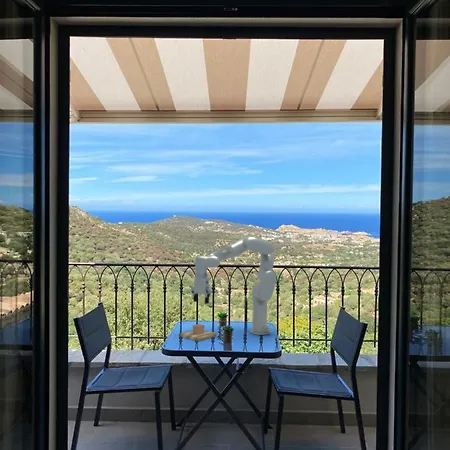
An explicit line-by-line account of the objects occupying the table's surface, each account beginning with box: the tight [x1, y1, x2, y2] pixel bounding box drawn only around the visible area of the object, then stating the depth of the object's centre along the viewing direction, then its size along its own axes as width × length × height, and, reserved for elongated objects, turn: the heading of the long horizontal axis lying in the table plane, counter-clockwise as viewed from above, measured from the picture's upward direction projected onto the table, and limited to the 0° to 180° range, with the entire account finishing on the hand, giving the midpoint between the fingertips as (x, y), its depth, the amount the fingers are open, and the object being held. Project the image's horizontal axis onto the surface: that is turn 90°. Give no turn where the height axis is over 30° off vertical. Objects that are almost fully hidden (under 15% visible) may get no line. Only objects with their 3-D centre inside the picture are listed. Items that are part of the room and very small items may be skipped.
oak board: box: [179, 329, 217, 343], centre depth 247 cm, size 16×16×2 cm
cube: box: [192, 323, 205, 335], centre depth 247 cm, size 5×5×5 cm
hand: (201, 302), depth 250 cm, fingers open, 9 cm apart
